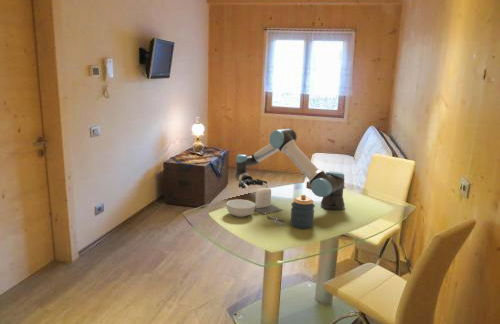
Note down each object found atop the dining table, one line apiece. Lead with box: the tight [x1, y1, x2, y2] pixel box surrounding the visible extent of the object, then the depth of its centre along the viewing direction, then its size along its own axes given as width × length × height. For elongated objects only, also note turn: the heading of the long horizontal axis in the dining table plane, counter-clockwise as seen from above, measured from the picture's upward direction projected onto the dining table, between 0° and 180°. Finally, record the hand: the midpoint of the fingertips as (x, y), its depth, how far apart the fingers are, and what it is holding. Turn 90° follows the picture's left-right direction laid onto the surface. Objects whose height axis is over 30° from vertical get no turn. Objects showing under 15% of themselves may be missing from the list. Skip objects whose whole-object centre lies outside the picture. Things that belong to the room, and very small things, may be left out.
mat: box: [253, 201, 283, 215], centre depth 243 cm, size 20×15×1 cm
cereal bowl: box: [226, 199, 255, 218], centre depth 228 cm, size 17×17×7 cm
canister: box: [289, 194, 315, 230], centre depth 215 cm, size 13×13×18 cm
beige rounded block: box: [254, 187, 272, 208], centre depth 242 cm, size 10×4×12 cm, turn 123°
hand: (257, 187), depth 250 cm, fingers open, 13 cm apart
